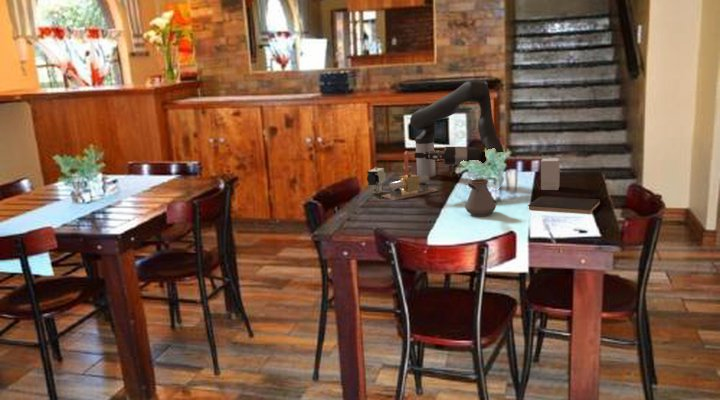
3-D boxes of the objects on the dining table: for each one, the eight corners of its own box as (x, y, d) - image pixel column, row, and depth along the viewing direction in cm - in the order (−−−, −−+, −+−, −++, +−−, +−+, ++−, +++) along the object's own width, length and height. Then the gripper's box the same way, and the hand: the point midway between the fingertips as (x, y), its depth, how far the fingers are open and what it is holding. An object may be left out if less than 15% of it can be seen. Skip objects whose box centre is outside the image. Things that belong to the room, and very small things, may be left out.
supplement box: (558, 190, 266) (558, 160, 263) (540, 190, 269) (540, 161, 266) (560, 186, 273) (559, 157, 270) (542, 186, 275) (542, 158, 273)
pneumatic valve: (367, 195, 284) (365, 169, 282) (378, 190, 294) (376, 165, 292) (378, 196, 282) (376, 169, 279) (389, 190, 292) (387, 165, 289)
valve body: (424, 187, 291) (422, 165, 289) (437, 190, 283) (436, 168, 280) (381, 197, 279) (379, 174, 277) (394, 200, 271) (392, 176, 268)
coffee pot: (470, 209, 245) (468, 172, 242) (499, 210, 240) (498, 172, 237) (453, 224, 226) (452, 183, 223) (485, 225, 221) (483, 184, 218)
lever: (404, 169, 281) (403, 149, 279) (413, 169, 280) (411, 148, 278) (401, 175, 267) (400, 154, 265) (411, 175, 266) (409, 153, 264)
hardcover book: (590, 215, 226) (590, 209, 225) (527, 211, 238) (527, 205, 238) (600, 205, 239) (600, 199, 238) (540, 201, 251) (540, 195, 251)
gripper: (453, 145, 272) (413, 145, 272) (457, 148, 259) (415, 147, 259) (453, 162, 273) (413, 162, 274) (456, 166, 260) (415, 165, 261)
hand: (414, 155), depth 266 cm, fingers closed
